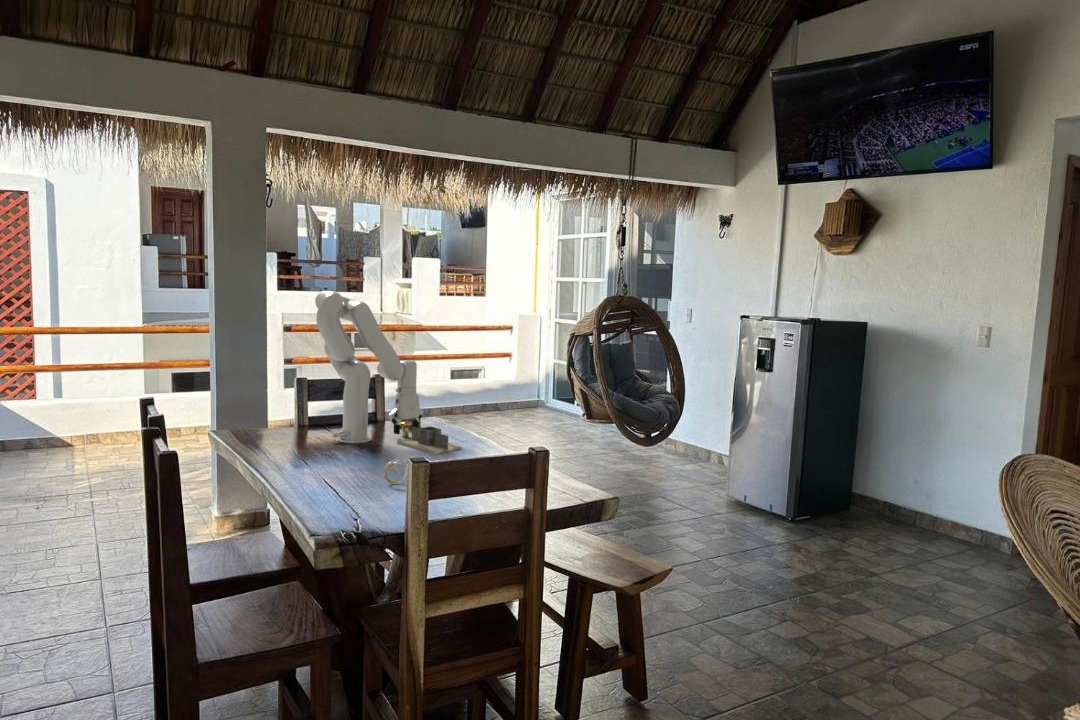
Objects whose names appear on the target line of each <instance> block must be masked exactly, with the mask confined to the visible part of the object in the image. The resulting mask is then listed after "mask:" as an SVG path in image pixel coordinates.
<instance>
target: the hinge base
mask: <svg viewBox="0 0 1080 720" xmlns="http://www.w3.org/2000/svg"><path fill="white" fill-rule="evenodd" d="M396 443H397V444H398V445H401V446H405V447H408V448H411V449H414V450H418V451H420V452H421V451H422V452H424V453H428V454H431V455H436V454H441V453H447V452H453V451H460V450H462V449H463V448H462V446H461V445H457V444H453V443H449V435H446V434H443V433H442V429H441V428H438V427H435V426H425V427H420V428H417V427H412V429H411V438H410V439H409V438H408V439H402V440H397V442H396Z"/></svg>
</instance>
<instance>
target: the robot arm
mask: <svg viewBox="0 0 1080 720" xmlns="http://www.w3.org/2000/svg"><path fill="white" fill-rule="evenodd" d="M314 302H315V306H316V308H317V313H316V326H317V329H318V331H319V333H320V334H321V335H320V336H322V338H323V340H324V346H323V347H324V352H325V355H326V357H327V358H328V360H329V361H330V364H331V365H332V367H333V369H334V370H335V373H337V375H338V376H339V378H340V379H341V380H343V381H344V387H343V395H342V402H343V404H342V405H343V406H342V428H341V429H339V431H338V432H331V438H333V439H335V438H338V439H337V440H338V441H339V442H340V443H345V444H365V443H369V442H371V441H372V436H370V435H368V427H369V426H368V425H369V424H368V423H369V421H368V419H369V392H370V391H369V390H370V383H371V374H372V373H371V369H370V368H369V366H368V365H367V364H366V363H365V362H364V361H361V360H358V359H357V357H356V355H355V354H356V349H355V345H354V343H353V342H352V340H351V338H350V337H349V335H348V333H347V332H346V330H345V329H344V326H343V325H342V324H343V323H342V322H341V320H340V319H342V320H345V321H349V322H351V323H352V325H353V327H354V328H355V330H356V332H357V334H358V337H359V338H360V340H361V342H362V344H363V345H364V346H365V347H366V348H367V349H368V350H369V351H370V352H371V353H373V355H374V356H375V358H376V359H377V361H378V362H379V363H378V364H377V367H376V370H377V371H376V372H377V374H378V375H379V376H380V377H382V378H384V379H386V380H389V381H393V382H397V388H395V393H396V395H395V399H394V405H393V406H394V408H393V410H392V411H391V412H389V413H388V415H387V416H388V418H389V420H390V422H391V423H392V424H393V434H394V435H400V434H401V429H400V425H399V423H400V421H401V419H402V420H405V419H413V420H414V421H412V427H417V428H418V422H419V421H420V419H421V418H422V417H423V414H424V409H422V408H421V406H420V398H419V394H418V393H417V377H418V376H417V373H418V371H417V369H418V367H417V366H418V364H417V362H416V361H415V360H411V359H404V360H401V359H400V357H399V355H398V354H397V352H396V350H395V349H394V347H393V346H392V344H391V343H390V342H389V340H388V338H387V337H386V336H385V335H384V333H383V330H382V329H381V327H380V325H379V323H378V321H377V319H376V318H375V316H374V313H373V311H372V310H371V308H370V306H369V305H368V304H367V303H366V302H364V301H359V300H354V299H351V298H348V297H345V296H343V295H341V294H340V292H336V291H332V290H322V291H319V293H318V294H317V295H316V297H315V300H314Z"/></svg>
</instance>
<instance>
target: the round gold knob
mask: <svg viewBox="0 0 1080 720" xmlns="http://www.w3.org/2000/svg"><path fill="white" fill-rule="evenodd" d="M399 425H400V426H402V429H401V437H402V438H405V439H407V438H408V439H409V437H410V429H409V426H412V422H408V421H402V422H400V423H399Z"/></svg>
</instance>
